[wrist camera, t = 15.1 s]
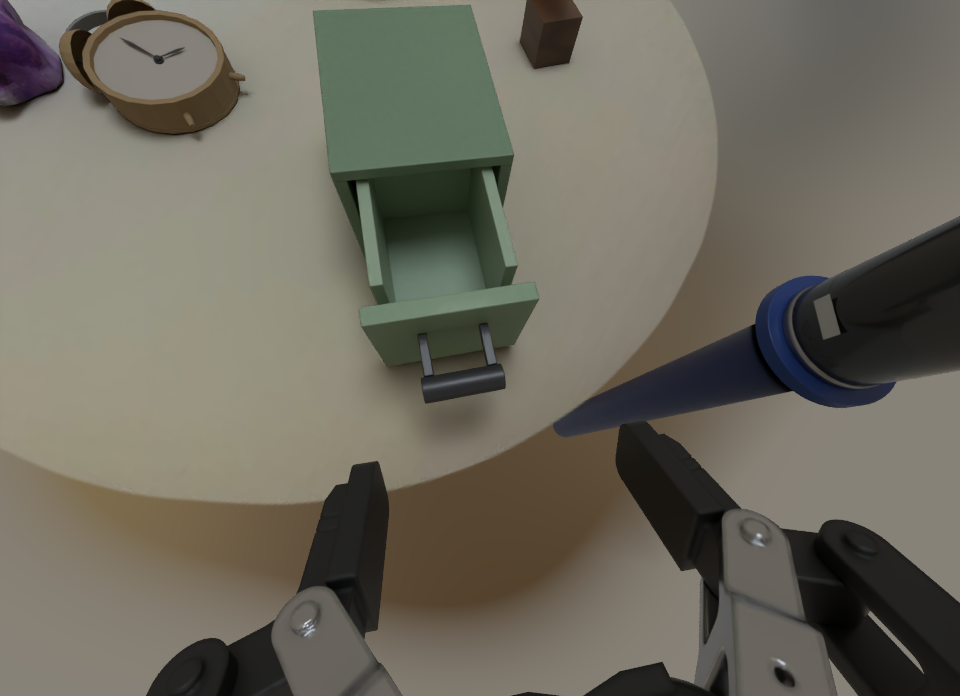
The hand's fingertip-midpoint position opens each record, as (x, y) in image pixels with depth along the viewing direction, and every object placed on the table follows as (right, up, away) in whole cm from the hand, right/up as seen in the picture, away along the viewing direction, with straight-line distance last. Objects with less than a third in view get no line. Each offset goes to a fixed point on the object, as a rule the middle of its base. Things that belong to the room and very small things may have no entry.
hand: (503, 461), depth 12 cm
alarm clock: (-32, +30, +24) cm, 50 cm away
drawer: (-4, +7, +18) cm, 20 cm away
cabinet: (-7, +19, +23) cm, 30 cm away
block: (+7, +38, +30) cm, 49 cm away
